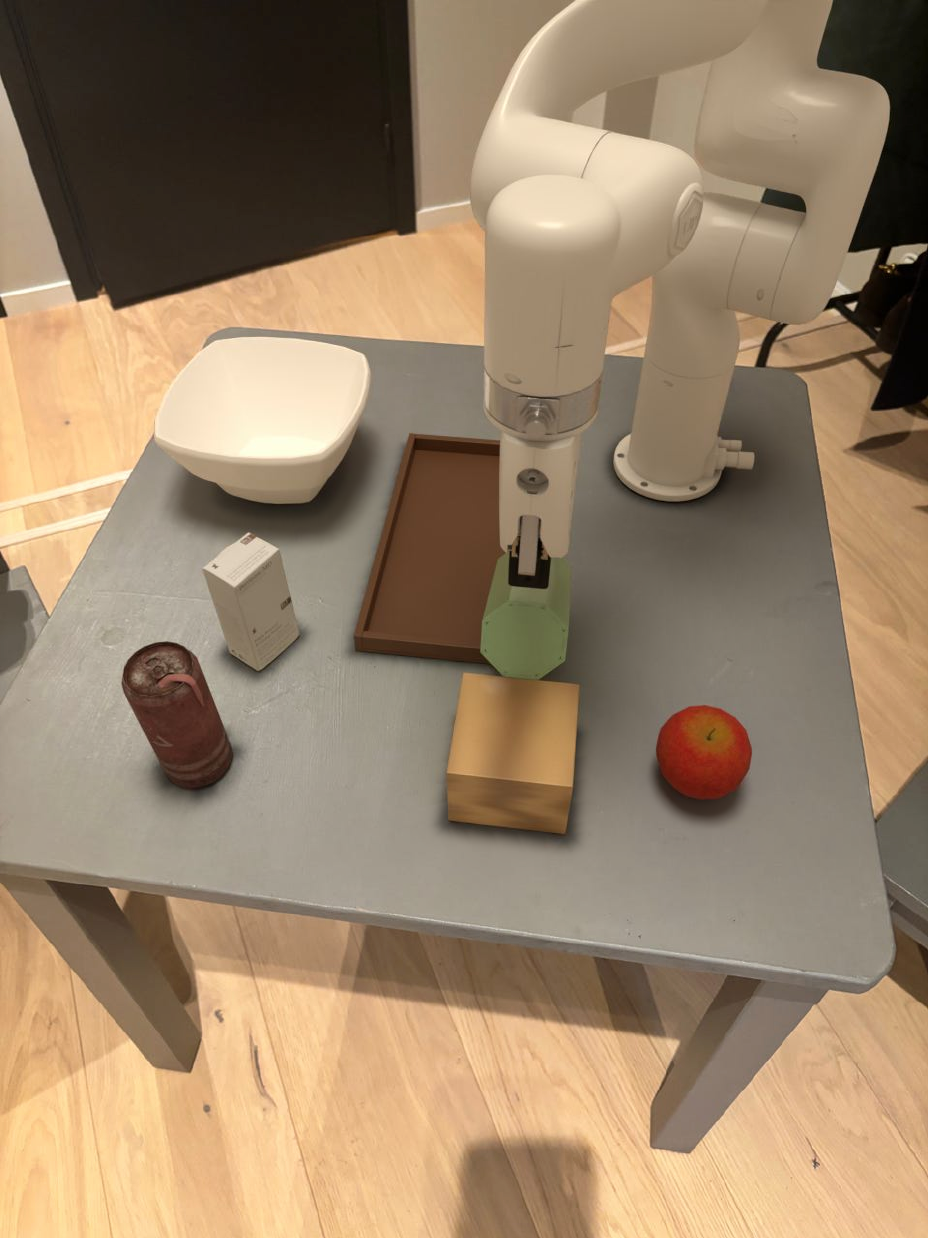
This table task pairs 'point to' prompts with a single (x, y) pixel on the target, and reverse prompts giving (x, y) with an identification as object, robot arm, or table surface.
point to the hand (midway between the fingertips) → (528, 580)
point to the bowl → (265, 415)
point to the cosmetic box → (252, 600)
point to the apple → (703, 752)
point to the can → (177, 713)
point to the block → (513, 753)
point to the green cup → (527, 623)
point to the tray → (435, 552)
